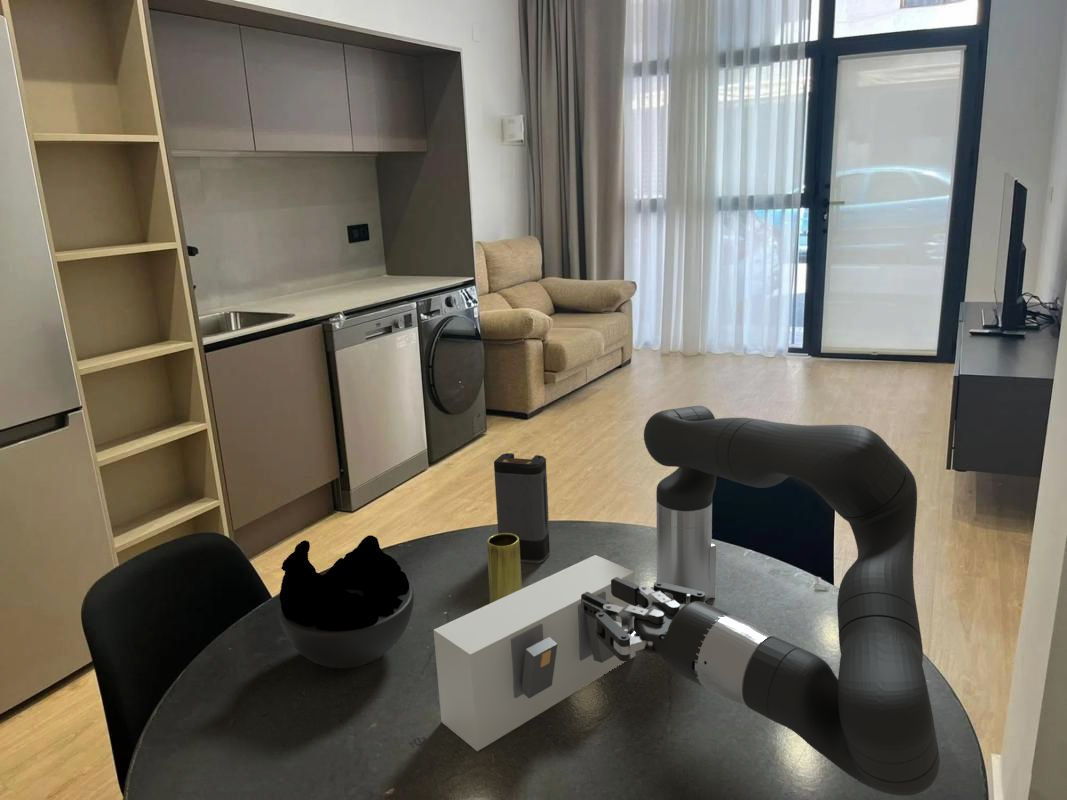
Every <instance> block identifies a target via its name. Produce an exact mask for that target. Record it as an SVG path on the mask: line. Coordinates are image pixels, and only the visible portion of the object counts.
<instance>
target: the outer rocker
mask: <svg viewBox="0 0 1067 800" xmlns="http://www.w3.org/2000/svg"><path fill="white" fill-rule="evenodd" d="M556 651H557V643H556V642H555V641H553V640H552V639H551V638H550V637H548V638H546V639H544V640H542V641H540V642H539V643H537V644H535V645H533V646H531V647H529V648H527V649H526V653H525V661H524V670H523V679H522V687H521V692H522V693H524V694H525V695H526V696H527V697H528V698H531V697H533V696H535V695H536V694H538V693H540V692H541V691H543V690H545V689H547V688H548V687H550V686H552V681H553V673H554V666H555V659H556Z"/></svg>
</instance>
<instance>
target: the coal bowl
mask: <svg viewBox="0 0 1067 800" xmlns="http://www.w3.org/2000/svg"><path fill="white" fill-rule="evenodd" d="M378 539H379V538H377V537H376V536H374V535H373V534H372V535H370V534H369V535H367V536H365V537H364V538H363V539H361V541H360V542H359V543H358V545H357V546H356V547H355V548H354V549H353V550H352V551H349V552H346V554H345V555H344V557H339V558H338V559H337V560H336V561H335V562H334V564H333V565H332V566H330V569H329V570H327V571H326V573H324V574H321V573H319V572H318V571H316V570H317V569H316V568H315V566H314V565H313V564H312V563H311V562H310V560H309V551H310V549H311V548H310V547H311V546H310V541H308V540H307V539H305V540H301V541H300V542H299V543H298V544H297V545H296V546H295V547H294V551H293V552H292V553H290V554H289V555H288V556H287V557H286V559H284V560H283V562H282V566H281V567H280V569H281V570H282V571H284V575H283V576H282V580H281V584H280V590H279V596H278V597H279V598H278V599H279V602H280V606H279V608H278V617H279V622H280V625H281V628H282V630H283V632H284V634H285V636H286V638H287V639H288V641H289V643H290V644H291V645H292V646H293V648H295V650H297V651H298V652H299V653H300V654H301V655H302V656H304V658H306V659H308V660H310V661H311V662H314V664H318V665H320V666H324V667H328V668H335V669H352V668H355V667H356V668H357V667H361V666H363V665H367V664H369V663H373V662H374V661H375V660H377V659H379V658H380V657H382V656H384V655H385V654H386V653H387V652H389V651H390V650H391V649H392V648H394V646H395V645H396V644H397V642H398V641H399V640H400V639H401V637H402V636H403V634H404V633H405V630H406V629H407V627H408V625H409V622H410V619H411V616H412V613H413V607H414V600H415V599H414V598H415V596H414V594H415V593H414V587H413V585H412V583H411V582H410V581H409V579H408V576H407V574H406V573H405V572H404V571H402V567H401V565H399V564H398V561H397V560H396V559H395V558H393V556H390V555H389V554H387V553H386V552H384V551H383V550H382V549H381V547H380V543H379V540H378Z"/></svg>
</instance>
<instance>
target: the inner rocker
mask: <svg viewBox="0 0 1067 800" xmlns="http://www.w3.org/2000/svg"><path fill="white" fill-rule="evenodd" d="M609 604H613V603H609ZM613 605H614V604H613ZM586 619H587V625H588V630H589V636H590V641H591V647H592V652H593V658H594V661H598V662H601V663H603V662H604V661H606V660H608V659H610V658H611V657H613V656H615V655H614V654H613V653H612V652H611V651H610V650H609V649H608V648H607V647H606V646H605V645H604V643H603V642H602V641H601V640H600V639H599V638H598V637H597V636H596V619H594V618H592V617H591V616H589V615H587V614H586ZM615 621H616V622H617V620H616V615H615Z"/></svg>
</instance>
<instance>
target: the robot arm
mask: <svg viewBox="0 0 1067 800" xmlns="http://www.w3.org/2000/svg"><path fill="white" fill-rule="evenodd" d="M643 441H644V445H645V448H646V451H647V452H648V454H649V456H651V458H652V459H653V460H654V461H655V462H656V463H658V464H659V465H661V466H663V467H674V468H675V467H676V469H675V471H673V472H672V473H670V474H669V475H667V476H666V477H664V478H663V479H661V480H660V481H659V483H658V484H657V486H656V493H655V494H656V495H655V497H656V502H655V503H656V507H655V508H656V581H655V582H654V583H653V586H650V585H649V586H648V585H646V584H645V585H644V584H642V585H639V584H638V585H637V584H636V583H635V584H633V583H631V582H629V581H627V580H623V579H620V578H618V577H616V578H614V579H612V580H611V593H612V595H613V596H614V597H616V598H618V599H620V600H622V601H624V602H627V603H629V604H631V605H627V606H626V607H625V608H624V607H620V606H617V605H613V604H609V602H608V601H606V600H604V599H602V598H600V597H597V596H595V595H593V594H591V593H589V592H586V593H584V594H582V595H581V607H582V611H583V613H585V614H587V615H589V616H591V617H592V618H594V619H596V636H597V637H598V638H599V639H600V640H601V641H602V642H603V643H604V645H605V646H606V647H607V648H608V649H609V650H610V651H611V652H612V653H613V654H614V655H615V656H616V657H617V658H618V659H619V660H620V661H626V662H628V661H630V660H631V659H630V653H631V652H634V651H635V652H638V651H640V650H642V651H643V652H646V653H649V654H655V655H658V656H659V657H661V658H662V659H663V661H664V662H665V664H666V665H667V666H668V667H669V669H670V670H672V671H673V672H675V673H676V674H678V675H680V676H682V677H684V678H686V679H688V680H689V681H692V682H693V683H695V684H697V685H699V686H701V687H702V688H705V689H707V690H708V691H710V692H712V693H714V694H715V695H718V696H719V697H722V698H723V699H725V700H728V701H730V702H732V703H734V704H738V705H741V706H744V707H746V708H748V709H750V710H752V711H753V712H755V713H757V714H760V716H763V717H765V718H767V719H769V720H771V721H773V722H775V723H777V724H779V725H781V726H783V727H785V728H787V729H789V730H790V731H792V732H793V733H795V734H797V736H799V737H800V738H802V740H803V741H805V742H806V743H807V744H808V745H809V746H811V747H812V748H813V749H814V750H815V751H816V752H818V753H819V754H820V755H822V756H824V757H825V758H826V759H827V760H828V761H830V762H831V763H832V764H834V765H835V766H836V767H837V768H839V769H840V770H841V771H843V772H844V773H845V774H847V775H848V776H849V777H852V778H853V779H854V780H856V781H857V782H859V783H861V784H863V785H865V786H867V787H868V788H871V789H873V790H875V791H879V792H881V793H883V794H887V795H893V796H900V797H901V796H903V797H904V796H905V797H906V796H907V797H908V796H909V797H910V796H914V795H918V794H920V793H922V792H924V791H926V790H928V788H930V787H931V786H932V785H933V784H934V782H935V781H936V779H937V777H938V774H939V770H940V763H941V762H940V761H941V760H940V758H941V757H940V751H939V745H938V741H937V740H938V738H937V733H936V728H935V721H934V715H933V709H932V705H931V699H930V694H929V689H928V684H927V680H926V675H925V671H924V667H923V660H924V659H923V658H924V648H923V640H922V634H921V627H920V621H919V613H918V606H917V601H916V595H915V584H914V582H915V581H914V554H915V553H914V552H915V534H916V521H917V509H918V508H917V507H918V489H917V481H916V478H915V476H914V474H913V472H912V471H911V469H910V468H909V467H908V466H907V464H906V463H905V462H904V461H903V460H902V459H901V458H900V457H899V456H898V455H897V454H896V452H895V451H894V450H893V449H892V448H891V447H890V446H889V444H888V443H887V442H886V441H885V440H884V439H883V438H882V437H881V436H880V435H879V434H878V433H876V432H874V431H873V430H871V429H869V428H867V427H864V426H861V425H854V424H818V425H817V424H816V425H814V424H812V425H807V424H805V425H804V424H803V425H801V424H795V423H794V424H793V423H785V422H775V421H771V420H765V419H758V418H751V417H722V418H716V417H715V416H714V414H713V412H712V411H711V410H710V409H709V408H707V407H706V406H704V405H703V406H702V405H693V406H685V407H684V406H683V407H679V408H678V407H676V408H671V409H670V408H669V409H664V410H660V411H658V412H656V413H654V414H653V415H652V416H650V418H649V419H648V420H647V422H646V423H645V426H644V431H643ZM717 477H720V478H723V479H726V480H730V481H732V482H735V483H739V484H742V485H745V486H747V487H748V486H749V487H754V488H759V489H761V488H762V489H763V488H764V489H766V488H771V487H774V486H775V487H776V486H777V485H779V484H781V483H782V482H784V481H785V480H787V478H789V477H791V478H794V479H796V480H799V481H801V482H803V483H805V484H807V485H808V486H809V487H810V488H812V489H813V490H815V491H816V493H817V494H818V495H820V497H821V498H822V499H823V500H824V501H825V502H826V503H827V504H828V505H829V507H831V508H832V509H833V510H834V511H835V512H836V513H837V514H838V516H840V517H841V518H842V519H843V520H845V521H846V522H847V523H848V524H849V526H850V529H851V531H852V534H853V536H854V540H855V543H856V549H857V558H856V560H855V561H854V562H853V563H852V564H851V566H850V567H849V568H848V569H847V571H846V572H845V574H844V575H843V577H842V580H841V581H840V582H841V583H840V584H839V588H838V595H837V605H836V606H837V608H836V609H837V611H836V612H837V626H838V627H837V628H838V641H839V642H838V644H839V651H840V659H839V668H838V675H837V676H838V677H837V676H836V674H835V673H834V671H833V670H832V668H831V666H830V665H829V664H828V663H827V662H826V661H825V660H824V659H822V658H821V657H820V656H818V655H816V654H815V653H812V652H810V651H808V650H807V649H804V648H802V647H799V646H797V645H795V644H793V643H790V642H788V641H786V640H784V639H781V638H779V637H777V636H775V635H773V634H772V633H769V632H768V631H767V630H764V629H763V628H761V627H760V626H758V625H756V624H754V623H751V622H749V621H747V620H744V619H742V618H740V617H738V616H735V615H733V614H732V613H728V612H726V611H724V610H722V609H719V608H717V607H715V606H712V605H709V604H708V603H706V602H707V601H708V600H709V599H712V598H713V599H714V598H716V583H717V582H716V580H717V579H716V578H717V577H716V575H717V571H716V570H717V546H716V544H715V543H713V542H712V537H713V533H712V532H713V531H712V530H713V525H712V524H713V494H714V491H715V489H716V485H717ZM632 605H633V606H632ZM615 615H616V616H619V617H620V618H621V623H620V622H616V621H615ZM633 617H635V618H634V628H633Z"/></svg>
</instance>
